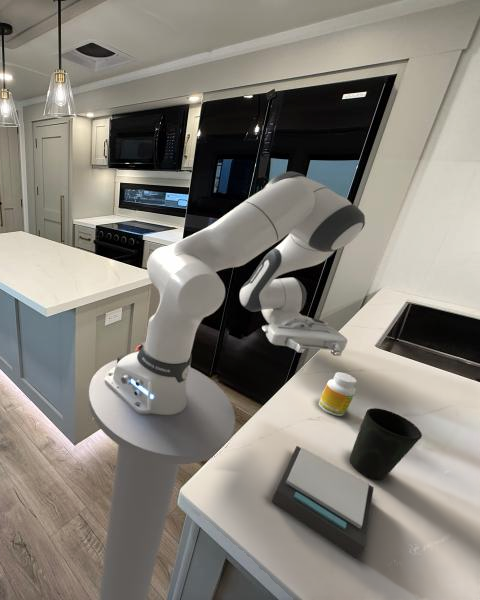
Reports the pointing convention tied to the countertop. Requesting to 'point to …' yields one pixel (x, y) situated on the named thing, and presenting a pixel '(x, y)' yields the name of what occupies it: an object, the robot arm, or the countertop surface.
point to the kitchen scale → (326, 500)
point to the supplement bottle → (338, 394)
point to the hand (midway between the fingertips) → (320, 352)
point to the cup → (382, 443)
